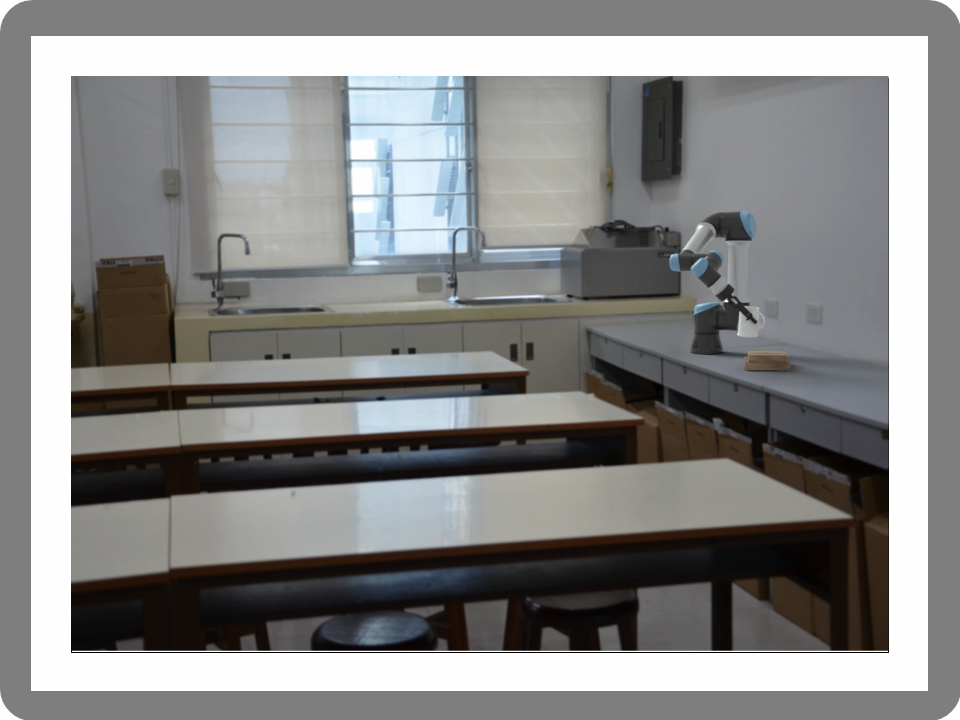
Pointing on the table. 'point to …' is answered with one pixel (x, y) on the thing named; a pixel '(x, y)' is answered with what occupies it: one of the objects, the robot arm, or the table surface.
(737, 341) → the table surface
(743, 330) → the mug
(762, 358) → the pedestal
